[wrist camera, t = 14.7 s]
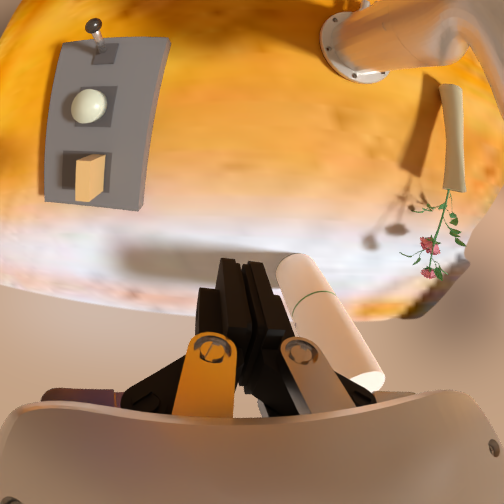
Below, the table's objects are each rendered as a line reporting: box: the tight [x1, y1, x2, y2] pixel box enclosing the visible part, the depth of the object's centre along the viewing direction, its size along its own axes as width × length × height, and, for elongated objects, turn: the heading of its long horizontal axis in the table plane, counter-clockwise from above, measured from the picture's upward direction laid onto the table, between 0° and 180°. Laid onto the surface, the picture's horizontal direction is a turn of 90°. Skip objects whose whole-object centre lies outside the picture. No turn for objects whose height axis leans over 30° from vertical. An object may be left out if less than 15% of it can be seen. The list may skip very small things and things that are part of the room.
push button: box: [71, 89, 107, 123], centre depth 25 cm, size 4×4×2 cm
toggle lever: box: [85, 18, 107, 53], centre depth 19 cm, size 2×2×6 cm
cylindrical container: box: [276, 253, 385, 393], centre depth 36 cm, size 7×7×25 cm
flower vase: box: [399, 84, 466, 280], centre depth 38 cm, size 12×12×35 cm
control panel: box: [44, 37, 171, 211], centre depth 29 cm, size 24×16×4 cm, turn 168°
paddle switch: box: [75, 154, 106, 202], centre depth 29 cm, size 5×2×5 cm, turn 168°
